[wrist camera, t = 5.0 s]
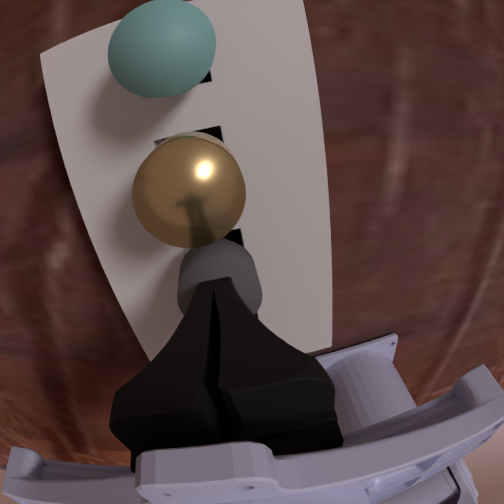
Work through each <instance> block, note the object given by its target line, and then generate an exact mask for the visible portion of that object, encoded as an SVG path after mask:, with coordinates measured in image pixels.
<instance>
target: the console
mask: <svg viewBox="0 0 504 504" xmlns="http://www.w3.org/2000/svg"><path fill="white" fill-rule="evenodd" d="M188 3H190V4H192V5H194V6H196V7H197V8H199V9H200V10H201V11H202V12H204V13H205V15H206V16H207V17H208V18H209V20H210V21H211V23H212V25H213V28H214V31H215V35H216V49H215V55H214V60H213V63H212V66H211V68H210V70H209V72H210V77H211V82H207V83H202V84H198V85H197V86H195V87H194V88H193V89H191V90H189V91H187V92H185V93H183V94H180V95H177V96H172V97H162V98H148V97H142V96H139V95H136V94H134V93H131V92H129V91H128V90H126V89H125V88H123V87H122V86H121V85H120V84H119V83H118V82H117V80H116V79H115V78H114V76H113V74H112V72H111V70H110V67H109V63H108V46H109V42H110V39H111V36H112V34H113V32H114V30H115V28H116V27H117V25H118V24H119V23H120V21H121V20H122V19H121V20H118V21H115V22H113V23H110V24H107V25H104V26H102V27H99V28H96V29H94V30H91V31H89V32H86V33H84V34H82V35H79V36H77V37H75V38H72V39H70V40H68V41H66V42H63V43H61V44H59V45H57V46H55V47H53V48H51V49H49V50H47V51H45V52H43V53H41V54H40V58H41V64H42V70H43V76H44V82H45V87H46V92H47V97H48V102H49V106H50V111H51V115H52V120H53V124H54V128H55V132H56V136H57V139H58V143H59V147H60V150H61V154H62V157H63V161H64V164H65V167H66V171H67V174H68V177H69V180H70V183H71V186H72V189H73V192H74V195H75V198H76V201H77V204H78V207H79V209H80V212H81V215H82V218H83V220H84V223H85V226H86V228H87V231H88V233H89V236H90V238H91V241H92V243H93V246H94V248H95V251H96V253H97V255H98V258H99V260H100V262H101V265H102V267H103V269H104V272H105V274H106V276H107V278H108V280H109V283H110V285H111V287H112V289H113V291H114V293H115V295H116V298H117V300H118V302H119V304H120V306H121V308H122V310H123V312H124V314H125V316H126V318H127V320H128V322H129V324H130V325H131V327H132V329H133V331H134V333H135V335H136V337H137V339H138V341H139V342H140V344H141V346H142V348H143V350H144V351H145V353H146V355H147V357H148V358H149V360H150V362H151V361H152V360H153V359H154V358H155V356H156V355H157V354H158V353H159V352H160V351H161V350H162V348H163V347H164V346H165V345H166V343H167V342H168V341H169V339H170V338H171V336H172V335H173V333H174V332H175V330H176V328H177V327H178V325H179V323H180V322H181V320H182V318H183V316H184V315H183V314H182V312H181V311H180V309H179V306H178V302H177V291H178V281H179V272H180V266H181V262H182V260H183V258H184V256H185V255H186V254H187V252H188V251H189V250H190V249H191V248H179V247H174V246H171V245H168V244H165V243H163V242H161V241H159V240H158V239H156V238H155V237H153V236H152V235H151V234H150V233H149V232H148V231H147V230H146V229H145V228H144V227H143V226H142V224H141V223H140V221H139V220H138V218H137V216H136V213H135V211H134V207H133V203H132V186H133V181H134V178H135V175H136V173H137V171H138V168H139V167H140V165H141V164H142V162H143V161H144V160H145V159H146V158H147V157H148V155H149V154H150V153H151V152H152V151H153V150H154V149H155V148H156V147H157V145H159V144H160V143H161V142H162V141H163V138H167V137H171V136H173V135H175V134H178V133H183V132H192V131H196V130H201V129H205V128H210V127H215V126H220V130H221V135H222V140H223V143H224V144H225V145H226V146H227V147H228V148H229V149H230V150H231V152H232V153H233V155H234V157H235V159H236V161H237V163H238V166H239V168H240V170H241V173H242V175H243V178H244V181H245V186H246V201H245V206H244V210H243V213H242V215H241V217H240V219H239V221H238V222H237V224H236V225H235V227H234V228H233V229H232V230H234V229H238V228H240V232H241V237H242V242H243V247H244V248H245V249H246V250H247V251H248V252H249V253H250V255H251V256H252V258H253V260H254V263H255V267H256V270H257V274H258V277H259V281H260V285H261V288H262V302H261V305H260V308H259V310H258V311H257V318H258V319H259V320H260V321H261V322H262V323H263V324H264V325H265V326H266V327H267V328H268V329H270V330H271V331H272V332H273V333H274V334H276V335H277V336H278V337H280V338H281V339H283V340H284V341H285V342H287V343H288V344H290V345H291V346H293V347H295V348H296V349H298V350H300V351H302V352H304V353H308V352H312V351H316V350H320V349H324V348H328V347H331V346H332V260H331V232H330V212H329V196H328V182H327V169H326V158H325V147H324V137H323V128H322V119H321V110H320V102H319V94H318V87H317V80H316V73H315V66H314V60H313V54H312V48H311V42H310V36H309V30H308V25H307V20H306V14H305V9H304V4H303V0H194V1H189V2H188Z"/></svg>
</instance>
